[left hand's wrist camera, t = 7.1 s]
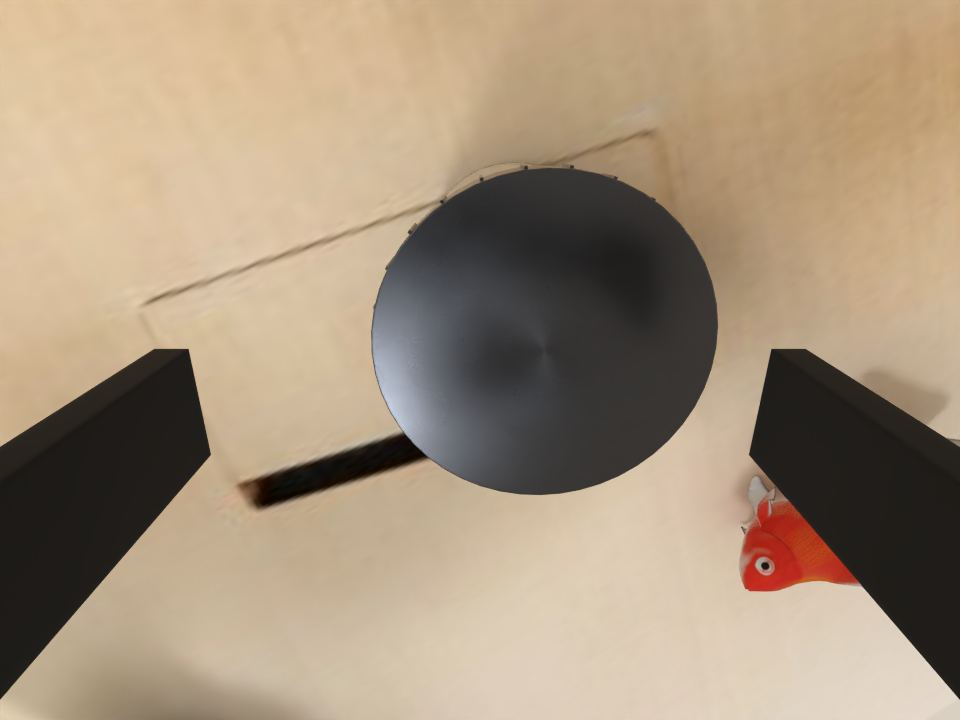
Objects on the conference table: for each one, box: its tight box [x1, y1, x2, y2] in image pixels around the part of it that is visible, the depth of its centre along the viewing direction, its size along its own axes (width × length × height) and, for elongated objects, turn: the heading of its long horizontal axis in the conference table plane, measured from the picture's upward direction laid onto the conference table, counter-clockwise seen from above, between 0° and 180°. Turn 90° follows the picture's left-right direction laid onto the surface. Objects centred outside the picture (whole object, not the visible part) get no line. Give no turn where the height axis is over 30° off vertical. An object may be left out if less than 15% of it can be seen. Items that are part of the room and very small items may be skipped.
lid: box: [371, 164, 718, 495], centre depth 18 cm, size 11×11×2 cm
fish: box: [739, 438, 960, 591], centre depth 34 cm, size 11×16×10 cm
